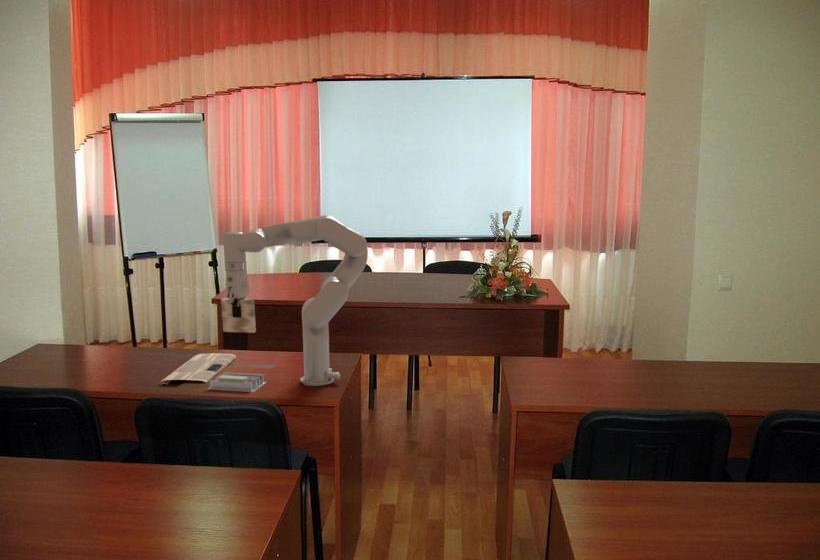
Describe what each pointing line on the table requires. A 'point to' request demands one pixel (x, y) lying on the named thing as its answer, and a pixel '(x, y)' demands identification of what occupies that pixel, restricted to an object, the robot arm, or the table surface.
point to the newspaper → (200, 367)
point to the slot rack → (238, 383)
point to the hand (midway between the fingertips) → (238, 316)
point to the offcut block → (233, 378)
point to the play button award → (256, 366)
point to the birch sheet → (239, 323)
